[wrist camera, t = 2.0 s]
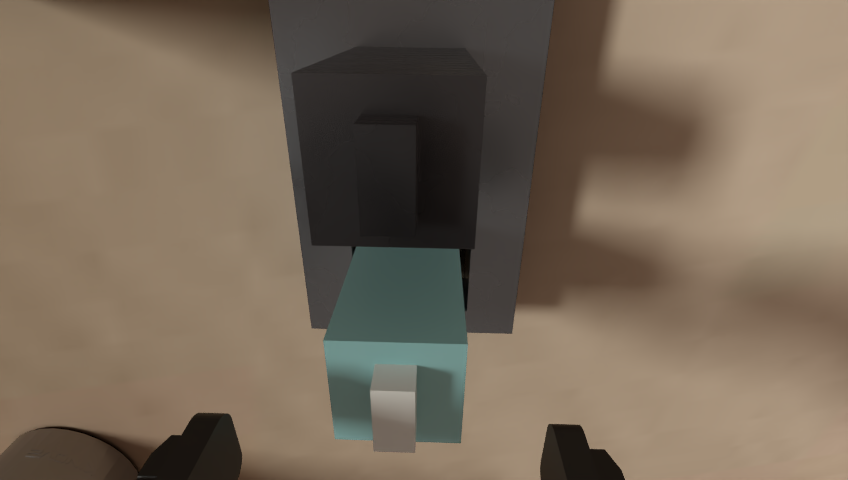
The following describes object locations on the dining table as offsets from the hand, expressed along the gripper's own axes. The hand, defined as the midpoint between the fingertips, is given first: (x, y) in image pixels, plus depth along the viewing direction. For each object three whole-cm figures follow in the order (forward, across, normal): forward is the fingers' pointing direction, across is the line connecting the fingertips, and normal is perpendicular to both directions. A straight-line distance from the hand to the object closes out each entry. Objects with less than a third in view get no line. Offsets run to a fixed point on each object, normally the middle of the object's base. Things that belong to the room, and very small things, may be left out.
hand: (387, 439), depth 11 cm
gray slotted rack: (+13, 0, -6) cm, 14 cm away
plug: (+13, 0, +1) cm, 13 cm away
